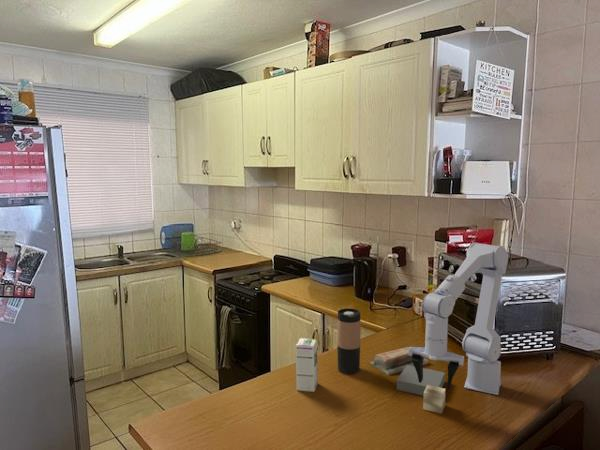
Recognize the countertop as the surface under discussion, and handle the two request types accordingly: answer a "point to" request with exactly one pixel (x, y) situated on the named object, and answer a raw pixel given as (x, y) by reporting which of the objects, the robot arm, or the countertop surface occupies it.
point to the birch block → (434, 399)
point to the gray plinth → (411, 383)
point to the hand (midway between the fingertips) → (434, 384)
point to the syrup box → (306, 365)
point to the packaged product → (394, 361)
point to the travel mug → (348, 341)
